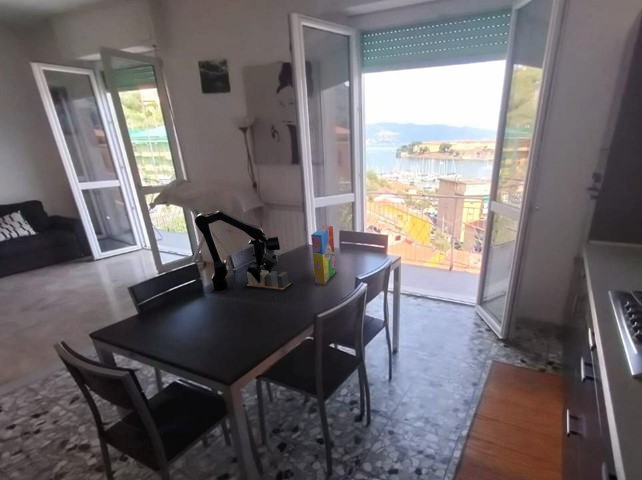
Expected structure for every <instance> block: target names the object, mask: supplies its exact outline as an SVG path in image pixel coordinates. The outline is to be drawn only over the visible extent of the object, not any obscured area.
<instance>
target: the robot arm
mask: <svg viewBox="0 0 642 480" xmlns="http://www.w3.org/2000/svg"><path fill="white" fill-rule="evenodd" d="M218 221H222V222H224V223H226V224H228V225H230V226H231V227H234V228H236V229H238V230H240V231H242V232H244V233H245V234H246V235H248V236H249V237H250V240H249V241H248V244H249V245H252V249H253V254H252V257H254V261H253V264H250V265H248V266H247V267H246V272H247V273H248V272H249V273H251V274H252V275H253V276H254V278H255V279H256V280H257V282H258V283H260V273H261V272H262V271H261V270H262V267H263V269H264V270H266V271H268V272H269V273H270V272H271V271H272V268H274V267H276V266H277V263H278V262H279V256H278V255H277V254H273V255H269V252H271V251H281V245H280V240H279V236H271V237H268V236H267V235H266V233H264V230H263V228H262V227H261V226H259V225H256V224H251V223H249V222H245V221H243V220H242V219H239V218H237V217H235V216H233V215H232V214H231V215H230V214H228V213H227V212H225V211H223V210H220V209H219V210H217V211H213V212H207V213H204V212H200V213H199V214H197V216H196V217H195V219H194V224H195V225H196V227H197V229H198V230H199V232H200V233H201V234H202V235H203V238H204V240H205V241H204V242H205V243H206V246H207V248H208V249H207V250H208V251H209V254H210V256H211V259H212V262H213V270H214V271H213V274H212V277H211V281H212V286H213V289H214V291H215V292H222V291H226V290H227V289H228V282H227V281H228V280H227V278H226V277H227V276H228V272H229V268H230V266H229V264H228V261H227V259H225V260H224V259H223V258H222V256H221V253H220V250H219V248H218V245H217V242H216V240H215V236H214V235H213V232H212V224H213V223H215V222H218ZM266 249H267V250H268V251H269V252H267V251H266Z"/></svg>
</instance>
